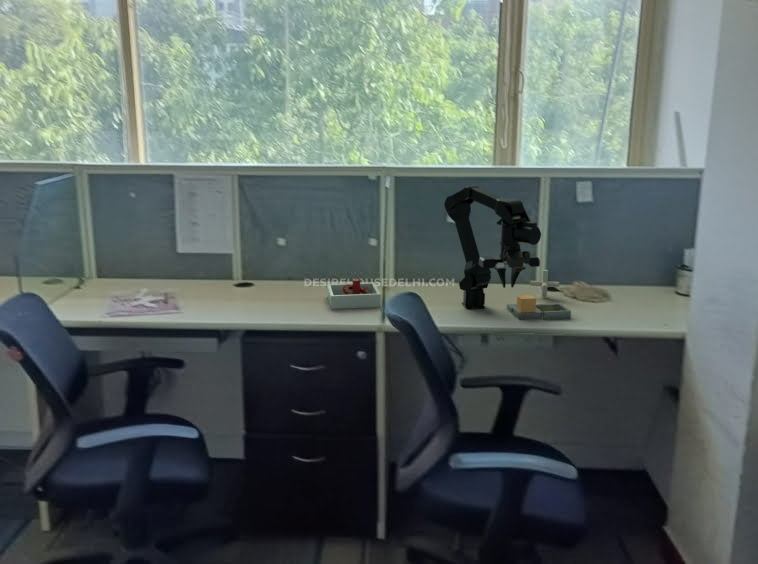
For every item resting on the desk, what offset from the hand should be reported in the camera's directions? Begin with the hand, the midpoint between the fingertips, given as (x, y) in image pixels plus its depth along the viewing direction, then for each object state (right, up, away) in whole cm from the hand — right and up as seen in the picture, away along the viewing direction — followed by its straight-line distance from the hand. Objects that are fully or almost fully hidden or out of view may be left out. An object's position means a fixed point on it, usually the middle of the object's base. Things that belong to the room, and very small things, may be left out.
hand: (508, 287), depth 237 cm
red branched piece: (-49, -5, +21) cm, 53 cm away
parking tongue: (+5, -8, +10) cm, 14 cm away
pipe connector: (+17, -4, +26) cm, 31 cm away
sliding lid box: (+11, -9, +4) cm, 15 cm away
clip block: (+6, -7, +3) cm, 10 cm away
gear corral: (-51, -5, +21) cm, 55 cm away
